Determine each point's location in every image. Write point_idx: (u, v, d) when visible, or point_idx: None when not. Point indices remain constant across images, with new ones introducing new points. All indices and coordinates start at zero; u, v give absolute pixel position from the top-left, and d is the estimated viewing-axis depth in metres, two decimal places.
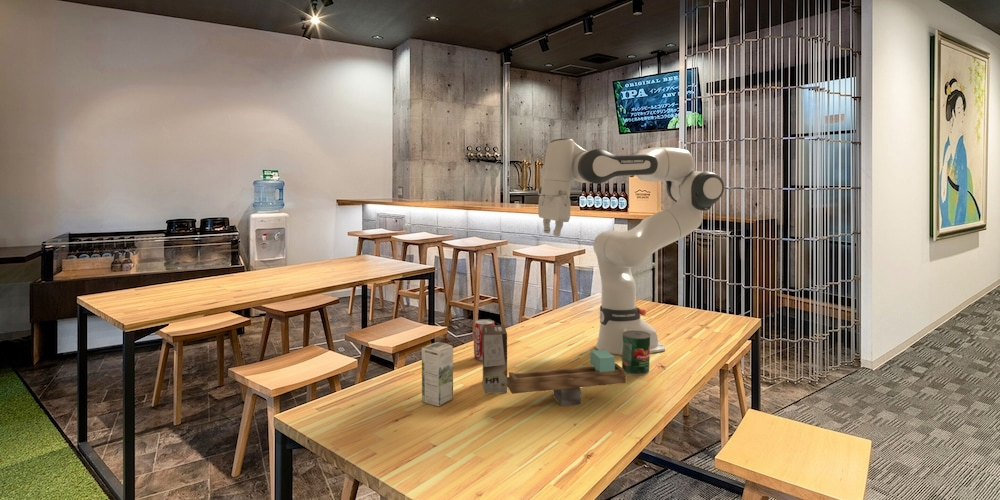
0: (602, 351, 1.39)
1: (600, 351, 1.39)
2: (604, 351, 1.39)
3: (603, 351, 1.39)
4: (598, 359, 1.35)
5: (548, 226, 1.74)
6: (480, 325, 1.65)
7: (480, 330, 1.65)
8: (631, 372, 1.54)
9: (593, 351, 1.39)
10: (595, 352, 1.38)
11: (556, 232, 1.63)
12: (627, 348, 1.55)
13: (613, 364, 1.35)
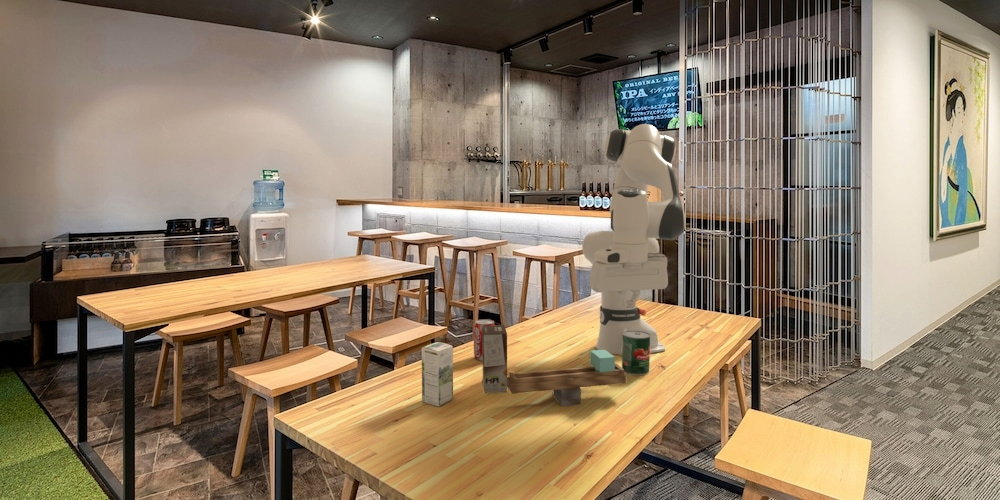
0: (602, 351, 1.39)
1: (600, 351, 1.39)
2: (604, 351, 1.39)
3: (603, 351, 1.39)
4: (598, 359, 1.35)
5: None
6: (480, 325, 1.65)
7: (480, 330, 1.65)
8: (631, 372, 1.54)
9: (593, 351, 1.39)
10: (595, 352, 1.38)
11: None
12: (627, 348, 1.55)
13: (613, 364, 1.35)
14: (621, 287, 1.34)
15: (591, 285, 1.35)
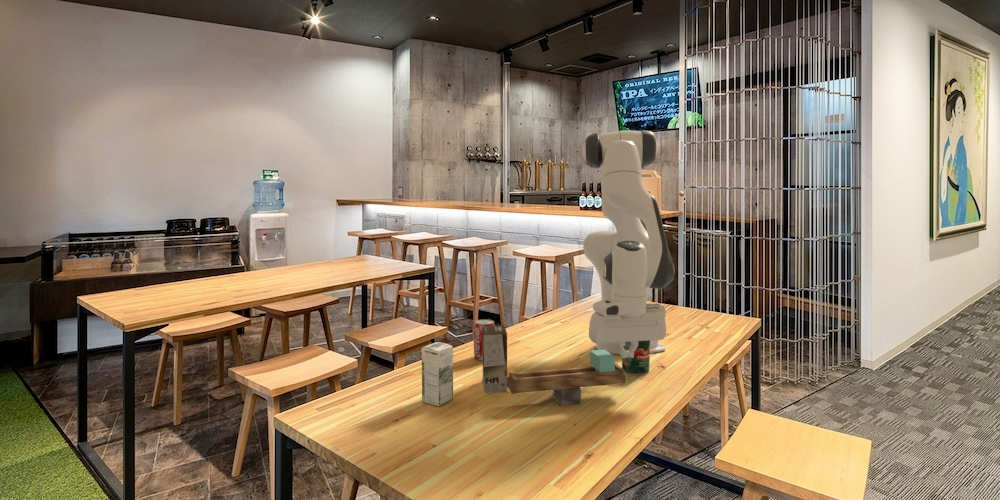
0: (602, 351, 1.39)
1: (600, 351, 1.39)
2: (604, 351, 1.39)
3: (603, 351, 1.39)
4: (598, 359, 1.35)
5: None
6: (480, 325, 1.65)
7: (480, 330, 1.65)
8: (631, 372, 1.54)
9: (593, 351, 1.39)
10: (595, 352, 1.38)
11: None
12: (627, 348, 1.55)
13: (613, 364, 1.35)
14: (620, 338, 1.36)
15: (590, 336, 1.36)
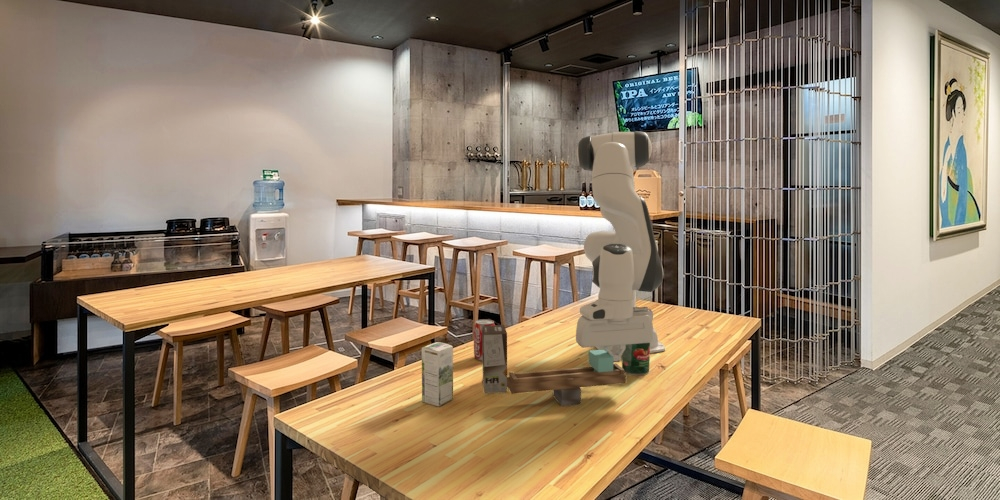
0: (601, 351, 1.39)
1: (599, 351, 1.39)
2: (603, 351, 1.39)
3: (602, 351, 1.39)
4: (597, 359, 1.35)
5: None
6: (480, 325, 1.65)
7: (480, 330, 1.65)
8: (631, 372, 1.54)
9: (592, 351, 1.39)
10: (594, 352, 1.38)
11: None
12: (627, 348, 1.55)
13: (612, 364, 1.35)
14: (607, 342, 1.35)
15: (577, 340, 1.36)
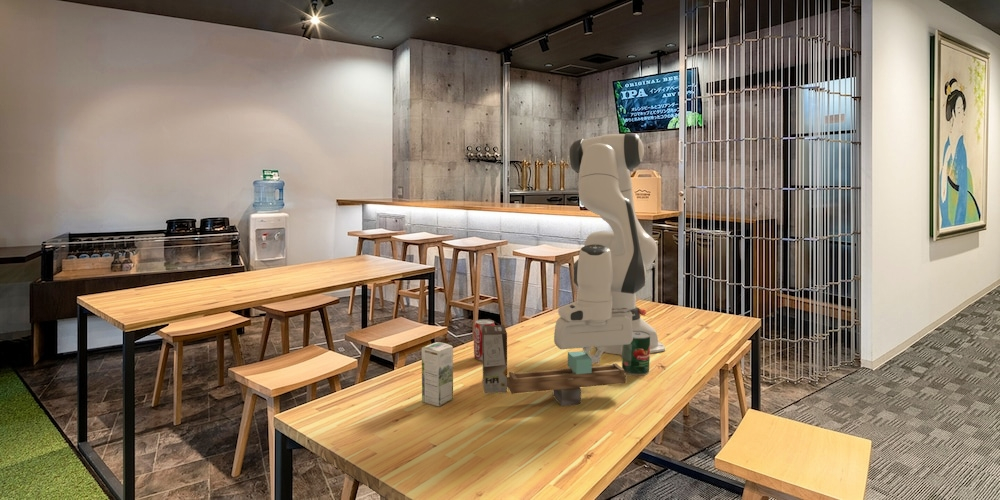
0: (579, 353, 1.38)
1: (577, 353, 1.38)
2: (581, 353, 1.38)
3: (580, 353, 1.38)
4: (575, 361, 1.33)
5: None
6: (480, 325, 1.65)
7: (480, 330, 1.65)
8: (631, 372, 1.54)
9: (570, 353, 1.38)
10: (572, 354, 1.37)
11: None
12: (627, 348, 1.55)
13: (590, 366, 1.33)
14: (585, 344, 1.34)
15: (555, 341, 1.34)
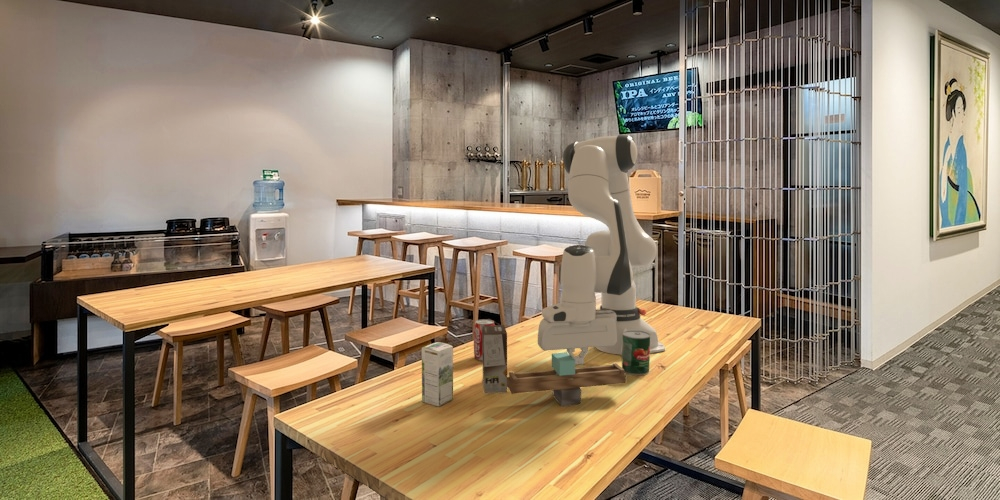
0: (563, 354, 1.37)
1: (561, 354, 1.37)
2: (565, 354, 1.37)
3: (564, 354, 1.37)
4: (558, 362, 1.32)
5: None
6: (480, 325, 1.65)
7: (480, 330, 1.65)
8: (631, 372, 1.54)
9: (554, 354, 1.37)
10: (556, 355, 1.36)
11: None
12: (627, 348, 1.55)
13: (573, 367, 1.32)
14: (568, 345, 1.33)
15: (538, 343, 1.33)
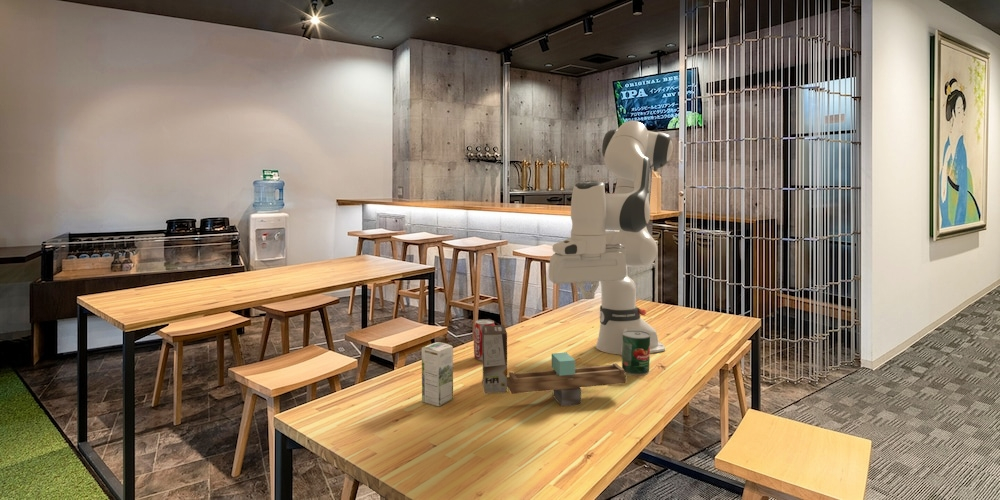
0: (563, 354, 1.37)
1: (561, 354, 1.37)
2: (565, 354, 1.37)
3: (564, 354, 1.37)
4: (558, 362, 1.32)
5: None
6: (480, 325, 1.65)
7: (480, 330, 1.65)
8: (631, 372, 1.54)
9: (554, 354, 1.37)
10: (556, 355, 1.36)
11: None
12: (627, 348, 1.55)
13: (573, 367, 1.32)
14: (579, 278, 1.35)
15: (550, 277, 1.35)
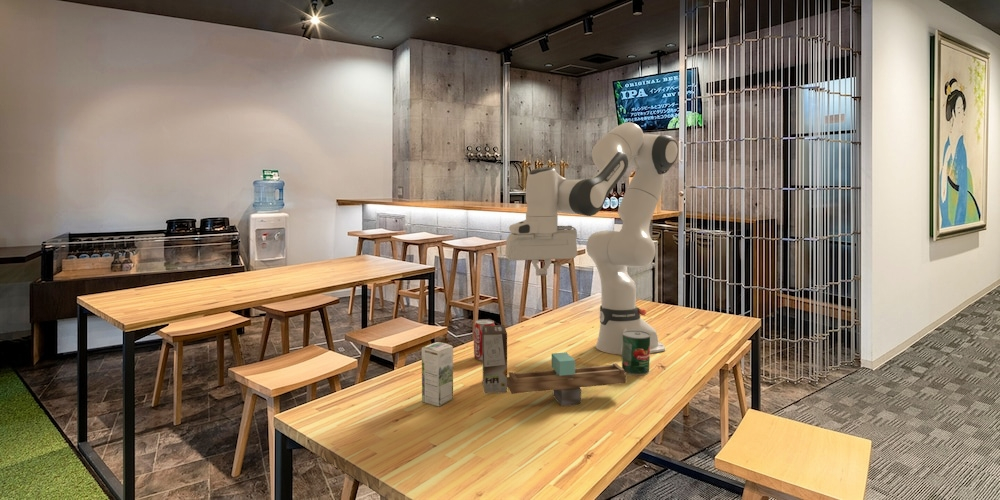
0: (563, 354, 1.37)
1: (561, 354, 1.37)
2: (565, 354, 1.37)
3: (564, 354, 1.37)
4: (558, 362, 1.32)
5: None
6: (480, 325, 1.65)
7: (480, 330, 1.65)
8: (631, 372, 1.54)
9: (554, 354, 1.37)
10: (556, 355, 1.36)
11: None
12: (627, 348, 1.55)
13: (573, 367, 1.32)
14: (533, 256, 1.48)
15: (506, 254, 1.49)
